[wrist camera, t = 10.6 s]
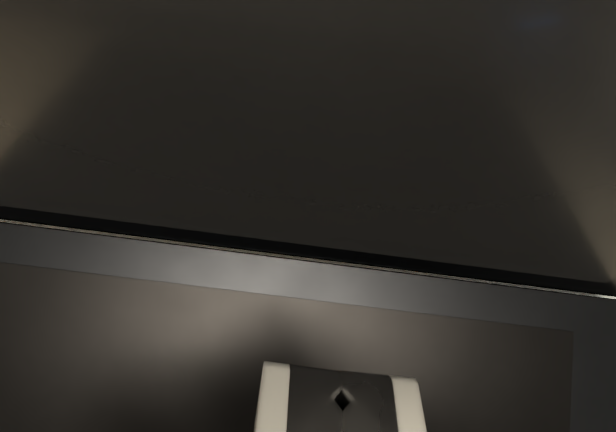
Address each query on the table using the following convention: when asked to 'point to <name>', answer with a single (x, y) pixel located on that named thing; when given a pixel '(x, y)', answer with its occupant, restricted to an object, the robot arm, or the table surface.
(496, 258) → the notebook screen
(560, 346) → the notebook
